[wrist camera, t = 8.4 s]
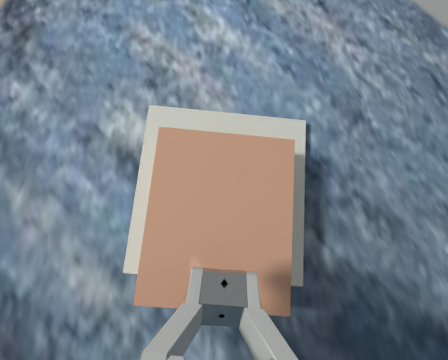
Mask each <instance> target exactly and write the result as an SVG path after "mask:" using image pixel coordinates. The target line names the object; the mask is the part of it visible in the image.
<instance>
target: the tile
mask: <svg viewBox="0 0 448 360" xmlns="http://www.w3.org/2000/svg"><path fill="white" fill-rule="evenodd" d="M294 152H295V140H293V139H282V138H272V137H262V136H251V135H241V134H231V133H220V132H210V131H199V130H189V129H179V128H168V127H159V130H158V137H157V144H156V151H155V158H154V165H153V172H152V179H151V185H150V192H149V199H148V206H147V213H146V220H145V227H144V234H143V241H142V247H141V254H140V261H139V268H138V275H137V282H136V289H135V296H134V303H133V305H135V306H149V307H163V308H176V309H178V308H179V307H180V306H181V304H182V303H186V300H187V294H188V288H189V282H190V276H191V270H192V267H203V268H212V269H227V270H243V271H253V272H256V273H257V276H258V286H259V295H260V305H261V309H264V310H265V311H266V313H267V314H268V315H273V316H287V317H290V304H291V266H292V228H293V190H294Z"/></svg>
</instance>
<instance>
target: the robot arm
mask: <svg viewBox="0 0 448 360" xmlns="http://www.w3.org/2000/svg"><path fill="white" fill-rule="evenodd" d="M201 325H214V326H227V327H237V328H239V331H240V333H241V335H242V337H243V339H244V341H245V343H246V345H247V347H248V349H249V351H250V353H251V355H252V357H253V359H254V360H298V359H297V357H296V356H295V354H294V353H293V351H292V350H291V348H290V347H289V345H288V344H287V342H286V341H285V339H284V338H283V336H282V335H281V333H280V332H279V330H278V329H277V327H276V326H275V324H274V323H273V322H272V320H271V319H270V317H269V316H268V314H267V313H266V311H265V310H264V309H261V305H260V295H259V286H258V276H257V273H256V272H253V271H243V270H227V269H212V268H203V267H192V270H191V276H190V282H189V288H188V294H187V300H186V303H182V304H181V306H180V307H179V308H178V309H177V310H176V312H175V313H174V314H173V315H172V317H171V318H170V319H169V320H168V321H167V323H166V324H165V325H164V326H163V328H162V329H161V330H160V331H159V332H158V334H157V335H156V336H155V337H154V339H153V340H152V341H151V342H150V343H149V345H148V346H147V347H146V348H145V350H144V351H143V352H142V356H141V359H140V360H184V358H183V357H182V356H183V354H184V353H185V351H186V349H187V348H188V346H189V345H190V343H191V341H192V340H193V338H194V337H195V335H196V334H197V332H198V330H199V329H200V327H201Z"/></svg>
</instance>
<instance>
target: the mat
mask: <svg viewBox="0 0 448 360" xmlns="http://www.w3.org/2000/svg"><path fill="white" fill-rule="evenodd" d="M159 127H168V128H179V129H189V130H199V131H210V132H220V133H231V134H241V135H251V136H262V137H272V138H282V139H293V140H295V152H294V190H293V228H292V266H291V286H300V287H303V256H304V198H305V140H306V121H305V120H295V119H285V118H275V117H265V116H255V115H245V114H235V113H225V112H214V111H204V110H194V109H184V108H174V107H164V106H154V105H149V110H148V116H147V122H146V129H145V135H144V142H143V148H142V154H141V161H140V167H139V173H138V180H137V186H136V193H135V199H134V205H133V212H132V218H131V224H130V231H129V237H128V244H127V250H126V256H125V263H124V269H123V273H131V274H138V268H139V261H140V254H141V247H142V241H143V234H144V227H145V220H146V213H147V206H148V199H149V192H150V185H151V179H152V172H153V165H154V158H155V151H156V144H157V137H158V130H159Z"/></svg>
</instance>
